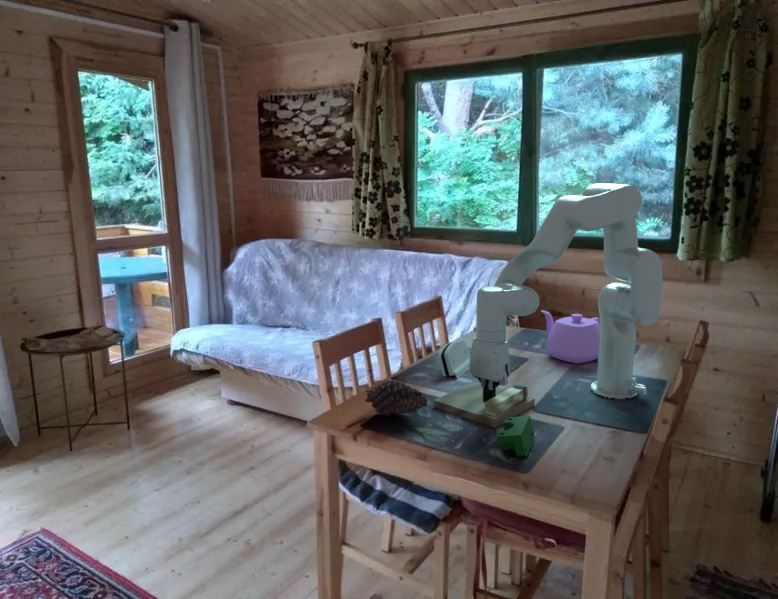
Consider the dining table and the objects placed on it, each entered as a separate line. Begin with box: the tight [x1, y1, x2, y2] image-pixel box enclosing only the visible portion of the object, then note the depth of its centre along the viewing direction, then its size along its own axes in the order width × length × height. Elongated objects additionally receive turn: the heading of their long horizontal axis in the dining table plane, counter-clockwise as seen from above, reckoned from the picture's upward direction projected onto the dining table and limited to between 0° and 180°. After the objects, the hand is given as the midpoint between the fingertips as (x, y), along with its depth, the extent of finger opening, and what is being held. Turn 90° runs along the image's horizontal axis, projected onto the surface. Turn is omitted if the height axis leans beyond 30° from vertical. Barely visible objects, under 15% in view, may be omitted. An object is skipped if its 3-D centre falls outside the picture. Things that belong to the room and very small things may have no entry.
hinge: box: [437, 340, 470, 380], centre depth 189 cm, size 17×5×10 cm, turn 151°
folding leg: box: [485, 383, 529, 416], centre depth 155 cm, size 17×4×3 cm, turn 138°
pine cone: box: [364, 379, 428, 417], centre depth 154 cm, size 18×10×10 cm, turn 68°
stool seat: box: [433, 380, 536, 429], centre depth 161 cm, size 20×19×2 cm
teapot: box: [540, 309, 600, 365], centre depth 201 cm, size 23×21×15 cm
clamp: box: [495, 415, 535, 458], centre depth 137 cm, size 12×6×9 cm, turn 151°
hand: (489, 401), depth 155 cm, fingers closed
